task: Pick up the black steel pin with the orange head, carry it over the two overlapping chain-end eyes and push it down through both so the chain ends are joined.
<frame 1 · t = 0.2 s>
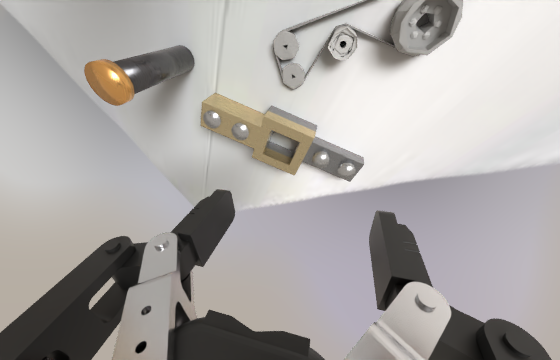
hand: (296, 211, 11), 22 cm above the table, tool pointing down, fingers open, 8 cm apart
pin: (184, 58, 30), on the table
chain end 1: (286, 135, 34), on the table
chain end 2: (286, 135, 34), on the table
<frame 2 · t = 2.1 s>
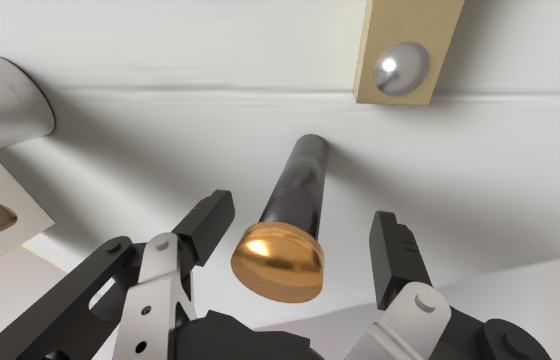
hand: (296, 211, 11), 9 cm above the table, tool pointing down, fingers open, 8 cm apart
pin: (311, 150, 19), on the table
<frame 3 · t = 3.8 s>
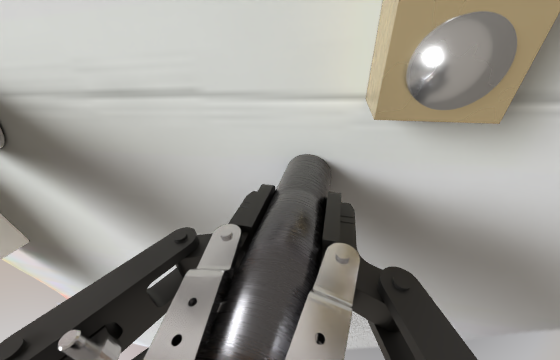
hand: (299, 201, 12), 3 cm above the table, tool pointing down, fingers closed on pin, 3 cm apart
pin: (308, 174, 15), on the table, touching gripper
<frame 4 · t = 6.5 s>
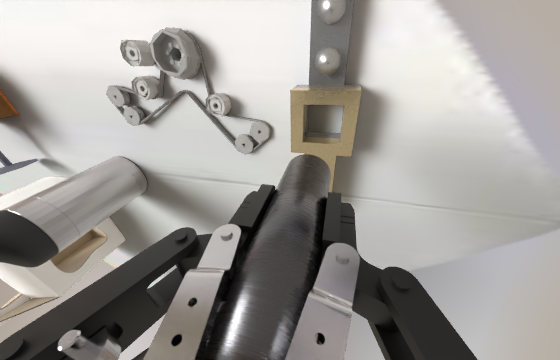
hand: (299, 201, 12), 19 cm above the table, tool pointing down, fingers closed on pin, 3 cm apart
pulley system: (190, 89, 31), on the table
pin: (308, 174, 15), point 16 cm above the table, touching gripper
chain end 1: (324, 115, 27), on the table
gable box: (90, 209, 58), on the table
chain end 2: (324, 115, 27), on the table
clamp: (7, 115, 45), on the table
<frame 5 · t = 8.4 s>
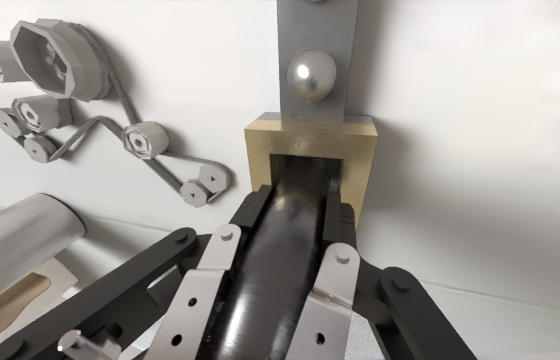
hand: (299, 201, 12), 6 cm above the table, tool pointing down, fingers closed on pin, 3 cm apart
pulley system: (110, 114, 21), on the table
pin: (308, 174, 15), point 3 cm above the table, touching gripper
chain end 1: (311, 160, 17), on the table
gable box: (31, 246, 47), on the table
chain end 2: (311, 160, 17), on the table
when the fingers open (5 cm above the table, at t = 9.5 s): pin drops 2 cm, resting in chain end 2.
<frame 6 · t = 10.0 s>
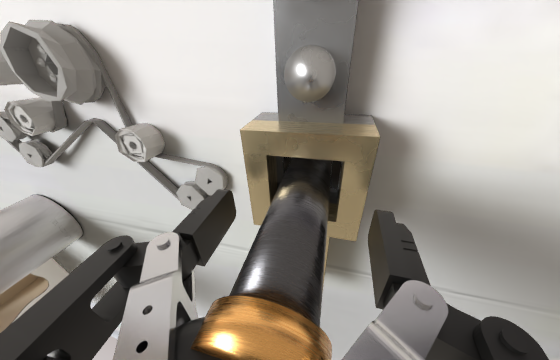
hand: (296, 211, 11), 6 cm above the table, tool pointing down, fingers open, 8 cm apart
pulley system: (105, 116, 20), on the table
pin: (311, 162, 16), resting in chain end 2
chain end 1: (311, 162, 16), on the table
gable box: (29, 247, 47), on the table
chain end 2: (311, 162, 16), on the table
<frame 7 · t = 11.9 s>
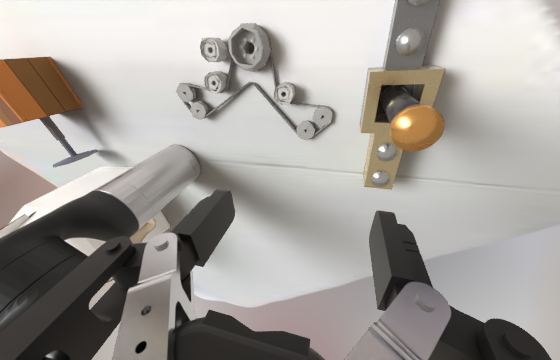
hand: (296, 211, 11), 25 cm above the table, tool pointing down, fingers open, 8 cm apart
pulley system: (254, 81, 33), on the table
pin: (393, 97, 29), resting in chain end 2
chain end 1: (392, 97, 29), on the table
gable box: (138, 197, 61), on the table
chain end 2: (392, 97, 29), on the table
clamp: (71, 109, 49), on the table
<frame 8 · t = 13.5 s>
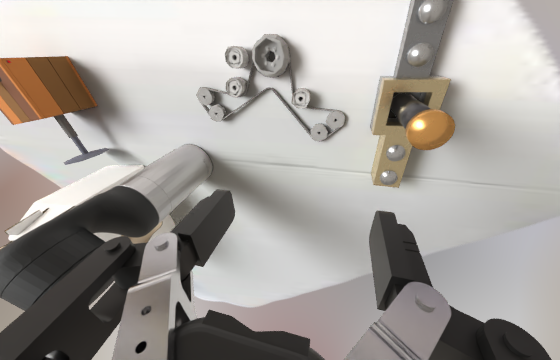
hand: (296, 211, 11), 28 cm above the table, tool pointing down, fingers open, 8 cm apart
pulley system: (271, 86, 36), on the table
pin: (401, 103, 32), resting in chain end 2
chain end 1: (401, 103, 32), on the table
gable box: (145, 196, 62), on the table
chain end 2: (401, 103, 32), on the table
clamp: (84, 108, 49), on the table
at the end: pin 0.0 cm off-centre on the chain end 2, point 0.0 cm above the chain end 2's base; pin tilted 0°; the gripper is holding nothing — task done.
